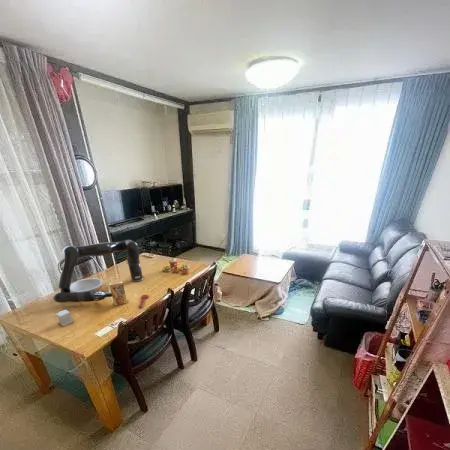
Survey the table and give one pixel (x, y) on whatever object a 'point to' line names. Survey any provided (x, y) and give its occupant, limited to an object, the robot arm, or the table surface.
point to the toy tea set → (176, 269)
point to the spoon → (143, 300)
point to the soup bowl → (86, 285)
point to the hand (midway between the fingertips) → (111, 294)
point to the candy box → (118, 293)
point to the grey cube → (64, 317)
